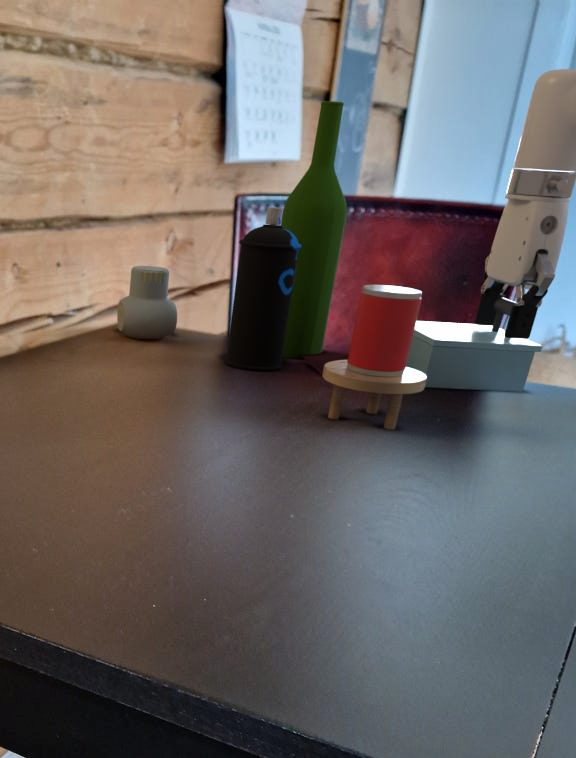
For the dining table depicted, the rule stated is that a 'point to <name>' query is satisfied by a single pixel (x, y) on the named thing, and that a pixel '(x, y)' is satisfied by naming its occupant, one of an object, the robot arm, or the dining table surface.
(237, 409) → the dining table surface
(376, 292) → the drink can
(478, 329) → the lid
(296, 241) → the aerosol can
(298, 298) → the wine bottle
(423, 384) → the stool
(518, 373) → the pale blue open box
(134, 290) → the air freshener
